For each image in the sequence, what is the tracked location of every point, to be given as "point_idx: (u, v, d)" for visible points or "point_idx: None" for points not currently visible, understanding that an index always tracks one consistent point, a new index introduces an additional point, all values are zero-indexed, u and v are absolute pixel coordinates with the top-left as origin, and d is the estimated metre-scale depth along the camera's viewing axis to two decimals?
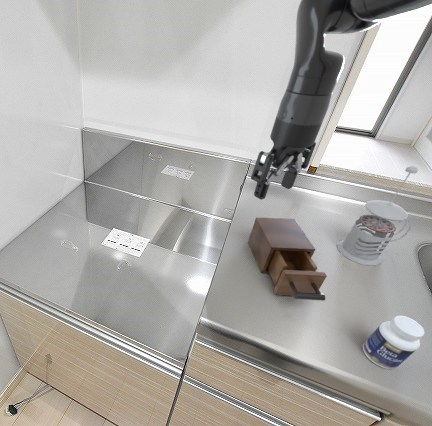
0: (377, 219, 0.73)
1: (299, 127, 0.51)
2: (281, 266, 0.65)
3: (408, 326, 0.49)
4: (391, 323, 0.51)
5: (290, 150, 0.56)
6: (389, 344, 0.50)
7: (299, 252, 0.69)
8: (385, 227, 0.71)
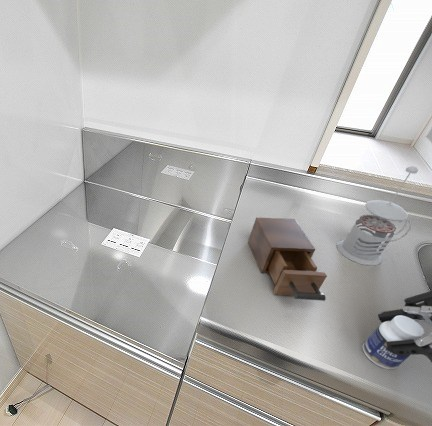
0: (377, 219, 0.73)
1: None
2: (281, 266, 0.65)
3: (408, 326, 0.49)
4: (391, 323, 0.51)
5: None
6: None
7: (299, 252, 0.69)
8: (385, 227, 0.71)
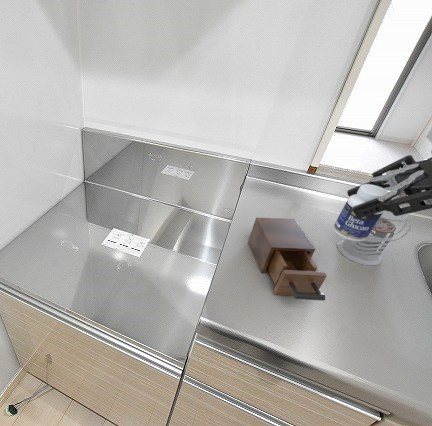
0: None
1: None
2: (281, 266, 0.65)
3: (373, 190, 0.51)
4: (358, 191, 0.52)
5: (427, 166, 0.47)
6: None
7: (299, 252, 0.69)
8: (385, 227, 0.71)
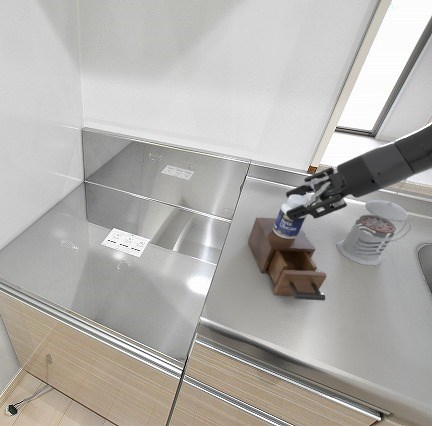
0: (377, 219, 0.73)
1: None
2: (281, 266, 0.65)
3: (298, 199, 0.65)
4: (287, 200, 0.67)
5: (335, 178, 0.61)
6: (285, 215, 0.67)
7: (299, 252, 0.69)
8: (385, 227, 0.71)
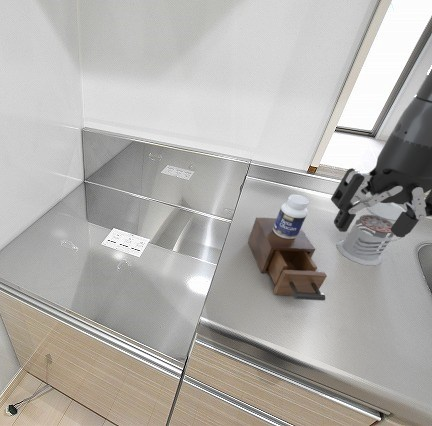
0: (377, 219, 0.73)
1: (413, 146, 0.38)
2: (281, 266, 0.65)
3: (298, 199, 0.65)
4: (287, 200, 0.67)
5: (400, 178, 0.41)
6: (285, 215, 0.67)
7: (299, 252, 0.69)
8: (385, 227, 0.71)
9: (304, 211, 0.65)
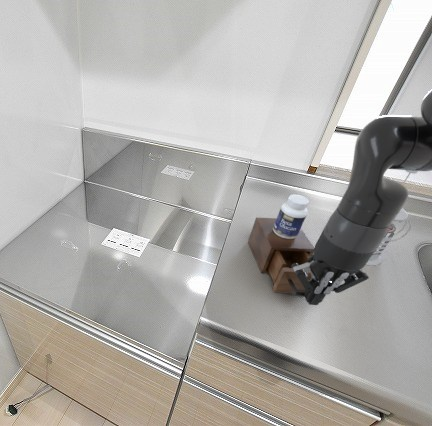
0: None
1: (336, 248, 0.48)
2: (280, 264, 0.65)
3: (298, 199, 0.65)
4: (287, 200, 0.67)
5: (332, 265, 0.52)
6: (285, 215, 0.67)
7: None
8: None
9: (304, 211, 0.65)
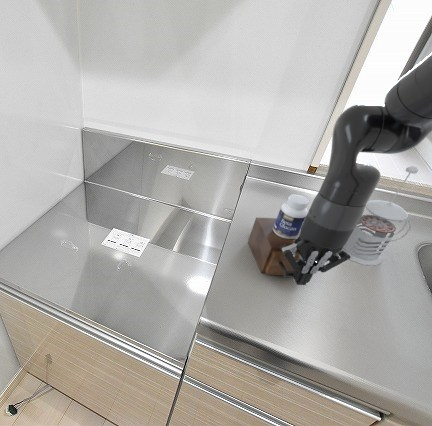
0: (377, 219, 0.73)
1: (319, 227, 0.53)
2: None
3: (298, 199, 0.65)
4: (287, 200, 0.67)
5: (316, 245, 0.56)
6: (285, 215, 0.67)
7: None
8: (385, 227, 0.71)
9: (304, 211, 0.65)
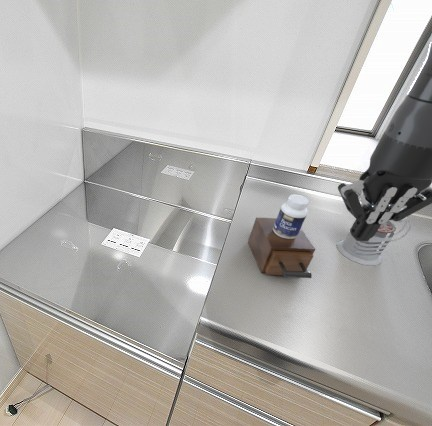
0: None
1: (407, 147, 0.36)
2: None
3: (298, 199, 0.65)
4: (287, 200, 0.67)
5: (394, 179, 0.40)
6: (285, 215, 0.67)
7: None
8: (385, 227, 0.71)
9: (304, 211, 0.65)
